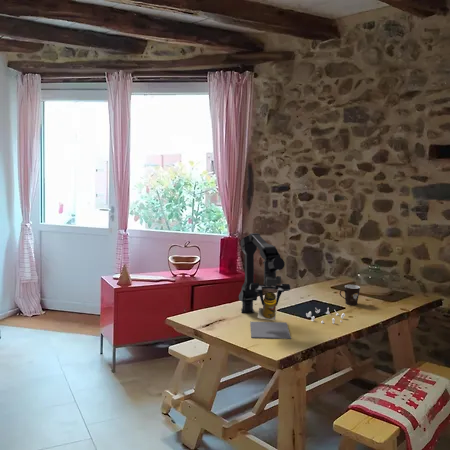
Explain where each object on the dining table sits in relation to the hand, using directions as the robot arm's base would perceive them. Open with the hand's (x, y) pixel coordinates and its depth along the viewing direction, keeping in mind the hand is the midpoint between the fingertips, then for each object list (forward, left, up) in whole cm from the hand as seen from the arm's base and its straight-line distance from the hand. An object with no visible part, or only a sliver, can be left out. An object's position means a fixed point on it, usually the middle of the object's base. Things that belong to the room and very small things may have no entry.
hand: (269, 305), depth 244 cm
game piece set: (-24, +31, -13) cm, 41 cm away
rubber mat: (-2, +1, -13) cm, 13 cm away
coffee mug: (-52, +49, -13) cm, 72 cm away
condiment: (-4, -1, -6) cm, 7 cm away
